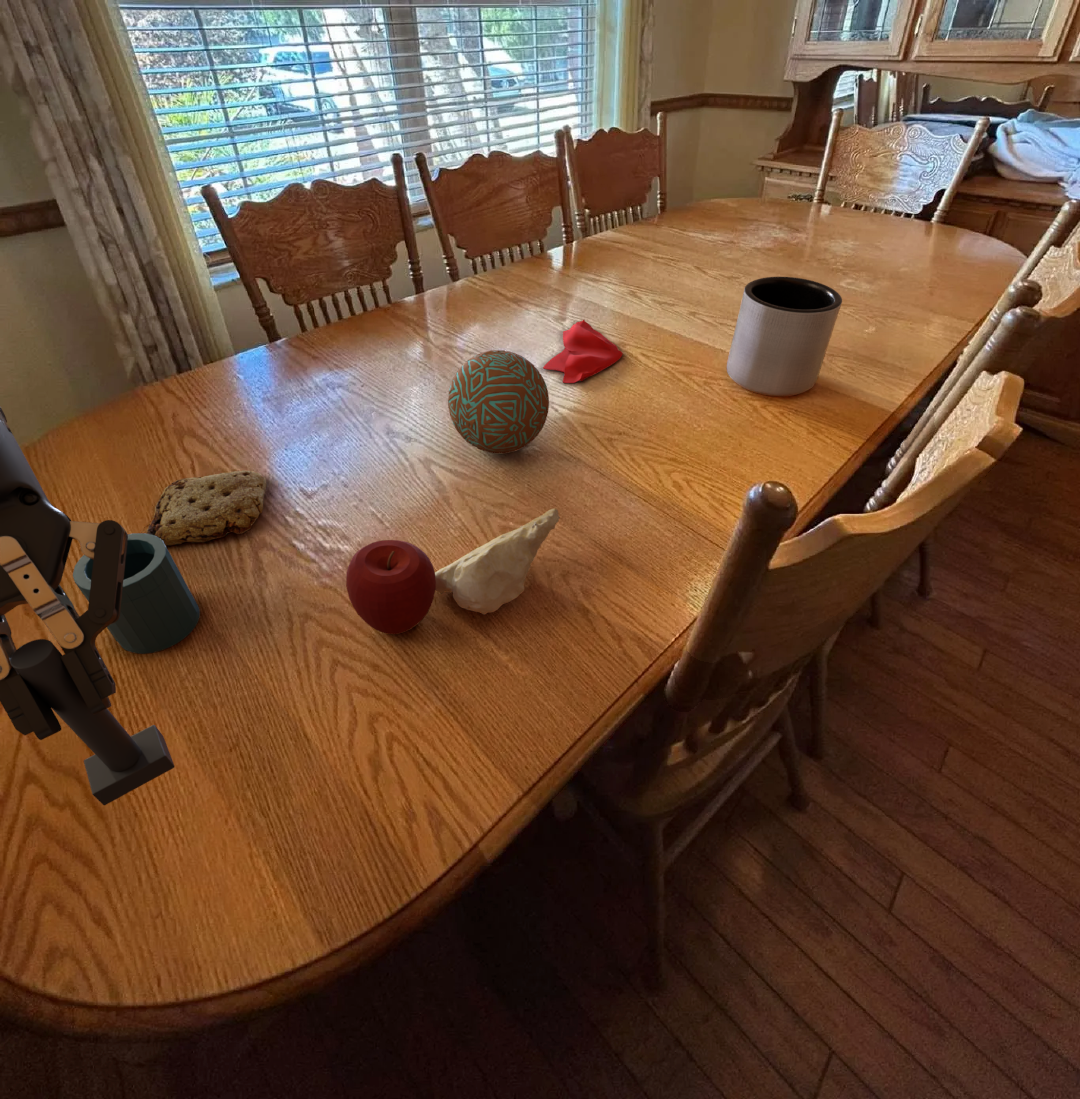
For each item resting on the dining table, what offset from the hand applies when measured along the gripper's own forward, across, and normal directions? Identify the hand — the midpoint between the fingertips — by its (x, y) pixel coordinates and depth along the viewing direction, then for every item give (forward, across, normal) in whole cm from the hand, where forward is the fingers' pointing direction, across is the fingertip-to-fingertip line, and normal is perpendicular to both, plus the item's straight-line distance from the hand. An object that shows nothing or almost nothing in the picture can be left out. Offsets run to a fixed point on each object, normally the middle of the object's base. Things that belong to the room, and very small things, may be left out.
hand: (77, 721), depth 35 cm
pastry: (-18, +14, +52) cm, 57 cm away
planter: (-1, +107, +36) cm, 113 cm away
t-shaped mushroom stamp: (+5, 0, +8) cm, 9 cm away
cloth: (-21, +87, +56) cm, 106 cm away
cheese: (+7, +38, +27) cm, 48 cm away
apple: (+6, +25, +29) cm, 39 cm away
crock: (-6, +3, +40) cm, 40 cm away
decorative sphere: (-10, +55, +45) cm, 71 cm away
